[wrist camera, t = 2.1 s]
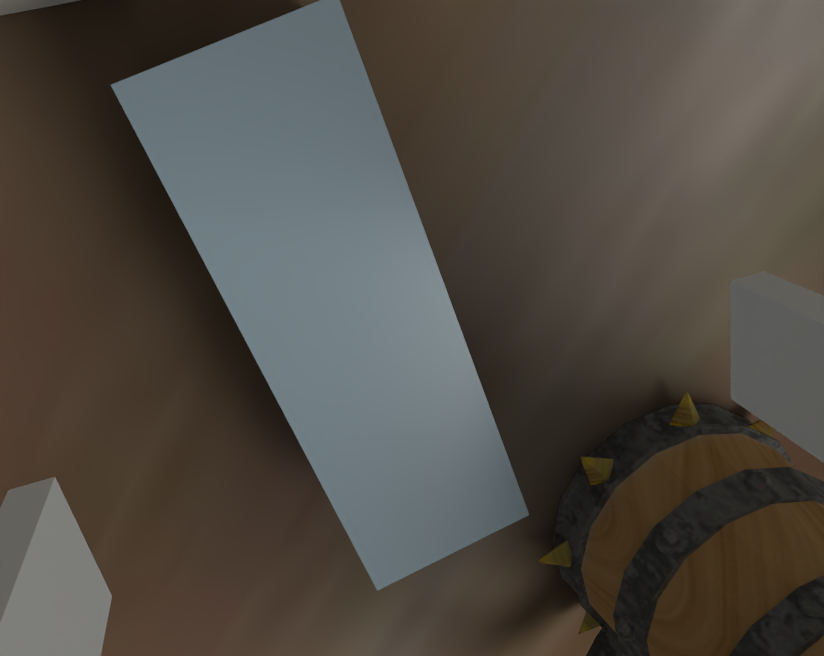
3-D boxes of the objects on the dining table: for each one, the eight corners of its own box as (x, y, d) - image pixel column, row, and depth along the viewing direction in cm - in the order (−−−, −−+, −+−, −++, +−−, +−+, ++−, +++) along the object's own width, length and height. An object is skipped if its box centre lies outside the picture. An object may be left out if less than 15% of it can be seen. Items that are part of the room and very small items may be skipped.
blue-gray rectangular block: (341, 479, 26) (377, 590, 21) (136, 74, 20) (109, 84, 14) (463, 420, 27) (529, 515, 21) (301, 7, 20) (337, -7, 15)
